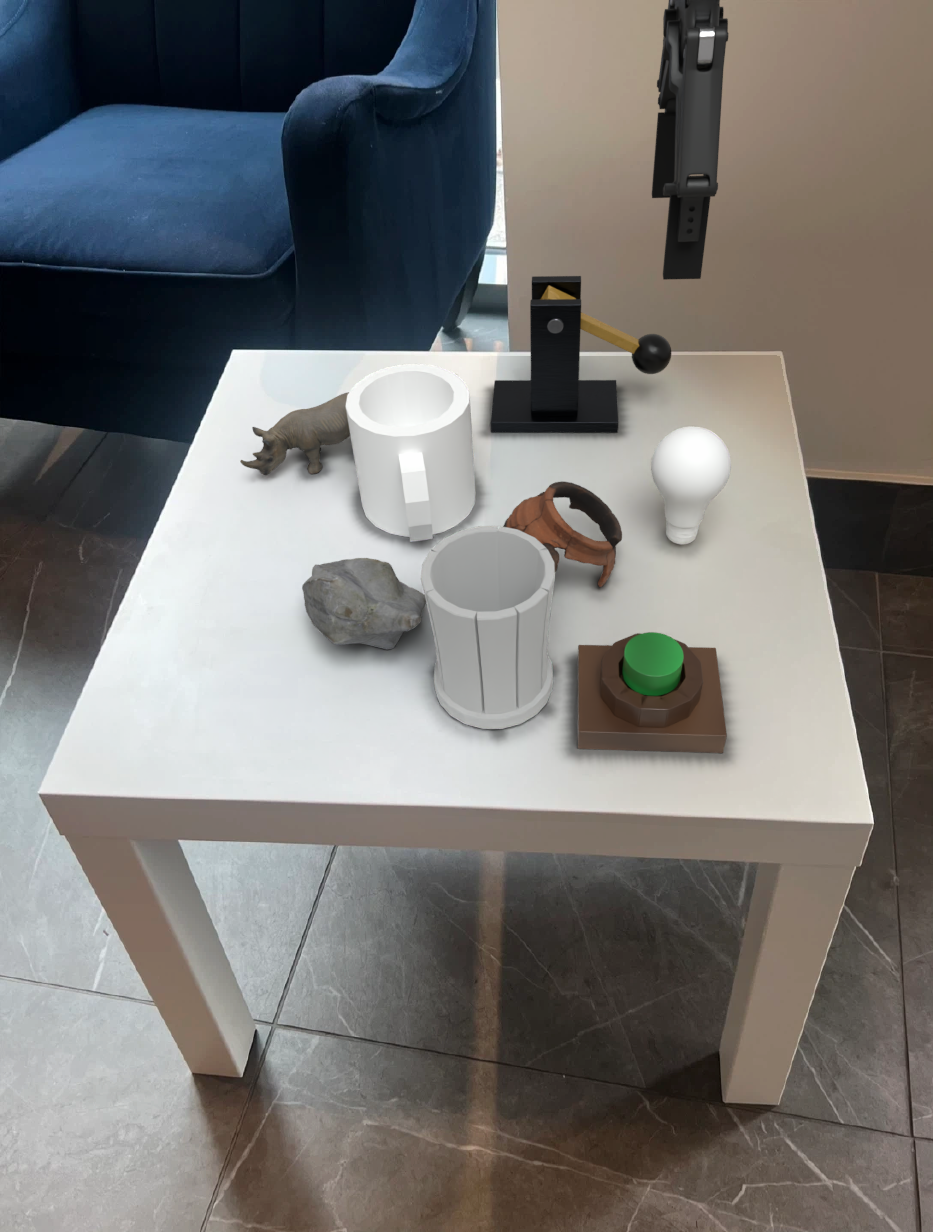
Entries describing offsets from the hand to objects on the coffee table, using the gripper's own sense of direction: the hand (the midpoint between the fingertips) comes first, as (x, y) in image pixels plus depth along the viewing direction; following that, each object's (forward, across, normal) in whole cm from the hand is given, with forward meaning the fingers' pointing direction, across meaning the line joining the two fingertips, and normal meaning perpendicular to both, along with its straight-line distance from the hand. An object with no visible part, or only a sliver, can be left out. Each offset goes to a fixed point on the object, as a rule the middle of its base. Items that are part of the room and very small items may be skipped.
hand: (674, 234), depth 79 cm
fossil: (+20, +25, -23) cm, 40 cm away
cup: (+20, +29, -14) cm, 38 cm away
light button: (+17, +31, -2) cm, 35 cm away
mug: (+20, +9, -21) cm, 31 cm away
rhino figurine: (+20, +3, -32) cm, 38 cm away
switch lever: (+13, -5, -6) cm, 15 cm away
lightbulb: (+20, +13, +1) cm, 24 cm away
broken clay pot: (+20, +18, -10) cm, 29 cm away
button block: (+20, +31, -2) cm, 37 cm away
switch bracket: (+20, -5, -9) cm, 23 cm away
